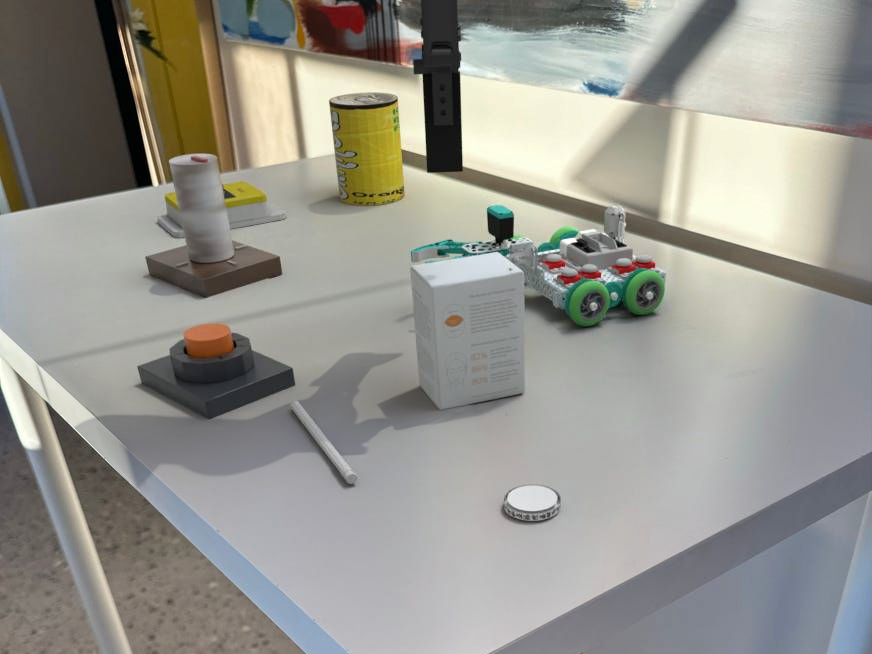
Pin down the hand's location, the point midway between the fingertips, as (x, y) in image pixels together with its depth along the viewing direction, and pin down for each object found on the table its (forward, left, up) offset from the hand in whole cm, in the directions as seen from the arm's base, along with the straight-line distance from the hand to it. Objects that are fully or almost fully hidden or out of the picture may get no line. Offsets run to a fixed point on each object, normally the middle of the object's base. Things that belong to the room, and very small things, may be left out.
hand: (442, 150), depth 79 cm
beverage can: (-49, +32, -18) cm, 61 cm away
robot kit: (-4, +16, -18) cm, 24 cm away
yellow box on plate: (-56, +12, -18) cm, 60 cm away
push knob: (-12, -18, -14) cm, 26 cm away
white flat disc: (+23, -15, -18) cm, 33 cm away
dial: (-38, -1, -15) cm, 41 cm away
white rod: (+4, -19, -18) cm, 26 cm away
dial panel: (-38, -1, -18) cm, 42 cm away
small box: (+6, -4, -18) cm, 19 cm away
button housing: (-12, -18, -18) cm, 28 cm away
